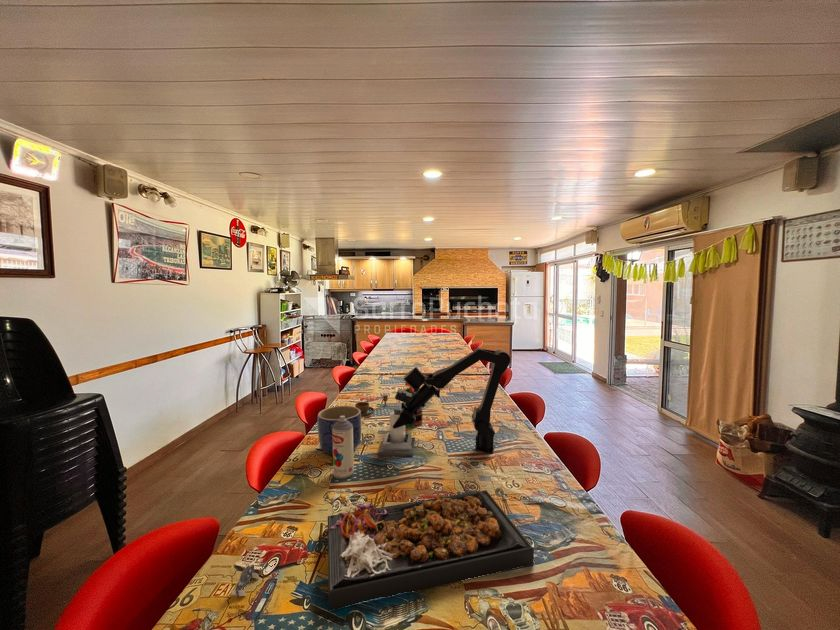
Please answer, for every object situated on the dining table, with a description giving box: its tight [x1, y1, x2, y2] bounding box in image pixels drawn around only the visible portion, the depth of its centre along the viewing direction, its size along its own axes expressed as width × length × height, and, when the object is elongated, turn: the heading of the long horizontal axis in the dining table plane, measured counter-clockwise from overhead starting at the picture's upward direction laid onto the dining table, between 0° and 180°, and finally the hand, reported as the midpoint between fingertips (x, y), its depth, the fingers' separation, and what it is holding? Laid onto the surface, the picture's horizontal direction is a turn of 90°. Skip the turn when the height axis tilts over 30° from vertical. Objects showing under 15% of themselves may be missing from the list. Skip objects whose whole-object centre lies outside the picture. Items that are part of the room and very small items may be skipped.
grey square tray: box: [378, 432, 416, 457], centre depth 141 cm, size 13×13×4 cm
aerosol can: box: [332, 416, 355, 480], centre depth 121 cm, size 7×7×20 cm
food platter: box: [327, 489, 535, 611], centre depth 87 cm, size 45×25×10 cm, turn 105°
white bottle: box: [389, 408, 406, 442], centre depth 140 cm, size 6×6×13 cm
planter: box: [317, 405, 362, 456], centre depth 140 cm, size 16×16×15 cm
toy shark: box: [230, 561, 278, 598], centre depth 79 cm, size 15×7×4 cm, turn 172°
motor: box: [403, 380, 423, 429], centre depth 166 cm, size 10×9×20 cm
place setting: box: [354, 395, 389, 419], centre depth 183 cm, size 18×20×6 cm
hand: (394, 424), depth 140 cm, fingers closed on white bottle, 6 cm apart
